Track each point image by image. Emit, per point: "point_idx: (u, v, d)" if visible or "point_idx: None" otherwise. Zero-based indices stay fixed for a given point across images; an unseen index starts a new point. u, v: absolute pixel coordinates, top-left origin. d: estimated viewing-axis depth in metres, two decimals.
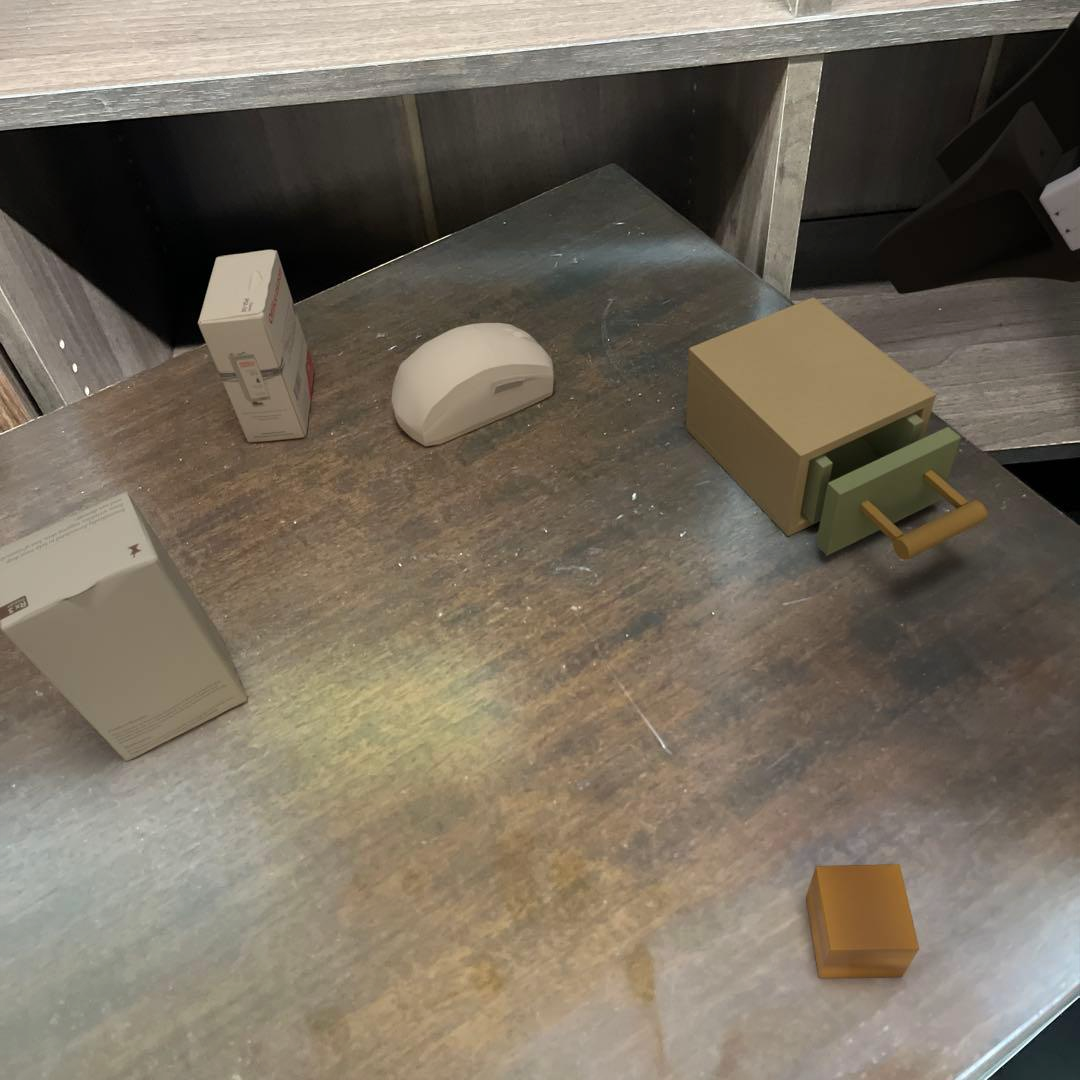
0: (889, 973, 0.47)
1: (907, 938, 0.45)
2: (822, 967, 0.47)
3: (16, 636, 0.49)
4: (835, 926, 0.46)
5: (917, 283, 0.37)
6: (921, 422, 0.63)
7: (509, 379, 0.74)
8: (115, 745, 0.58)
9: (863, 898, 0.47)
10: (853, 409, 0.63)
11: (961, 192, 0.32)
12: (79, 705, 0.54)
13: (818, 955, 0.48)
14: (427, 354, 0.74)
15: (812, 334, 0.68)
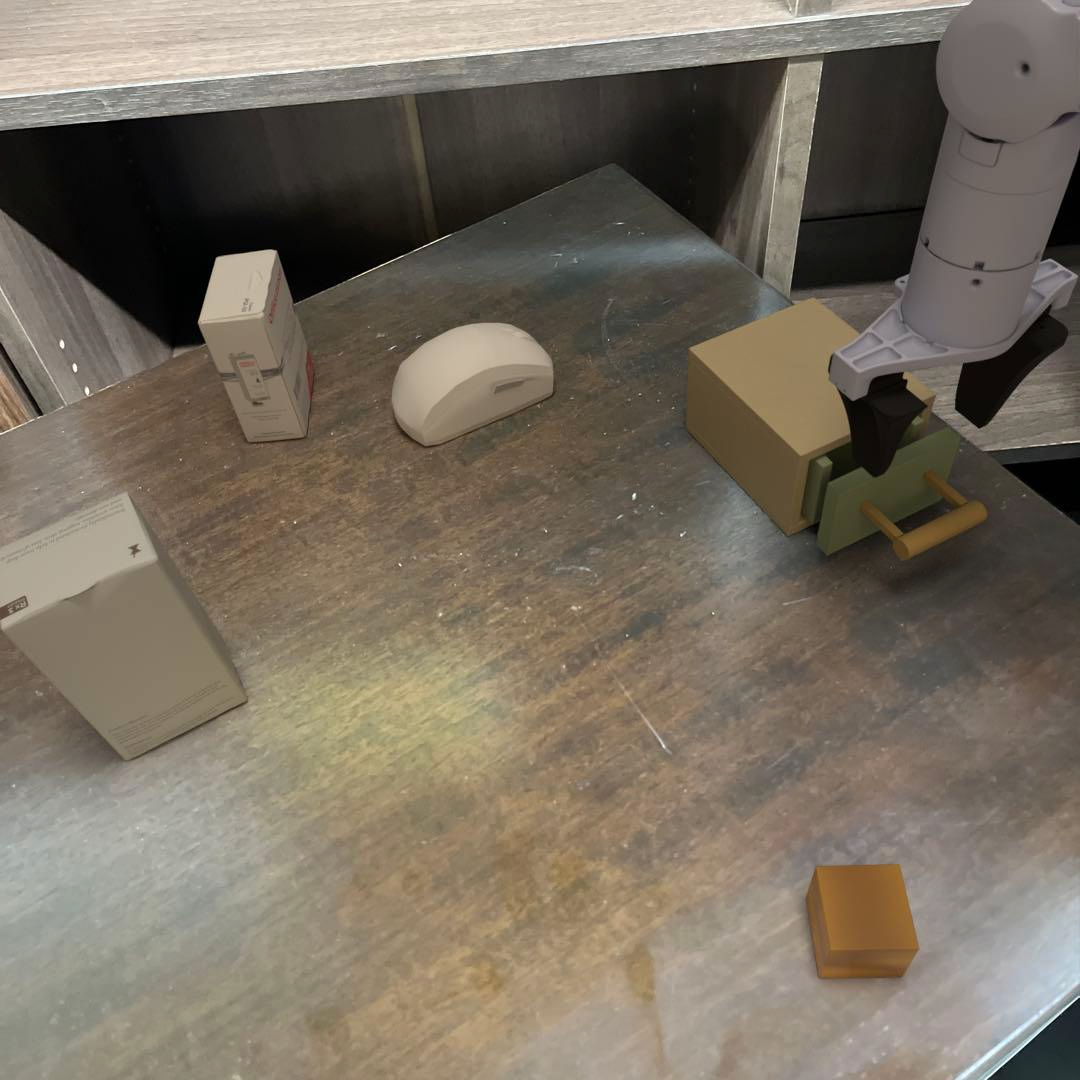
0: (889, 973, 0.47)
1: (907, 938, 0.45)
2: (822, 967, 0.47)
3: (16, 636, 0.49)
4: (835, 926, 0.46)
5: (874, 466, 0.56)
6: (921, 422, 0.63)
7: (509, 379, 0.74)
8: (115, 745, 0.58)
9: (863, 898, 0.47)
10: None
11: (842, 398, 0.54)
12: (79, 705, 0.54)
13: (818, 955, 0.48)
14: (427, 354, 0.74)
15: (812, 334, 0.68)
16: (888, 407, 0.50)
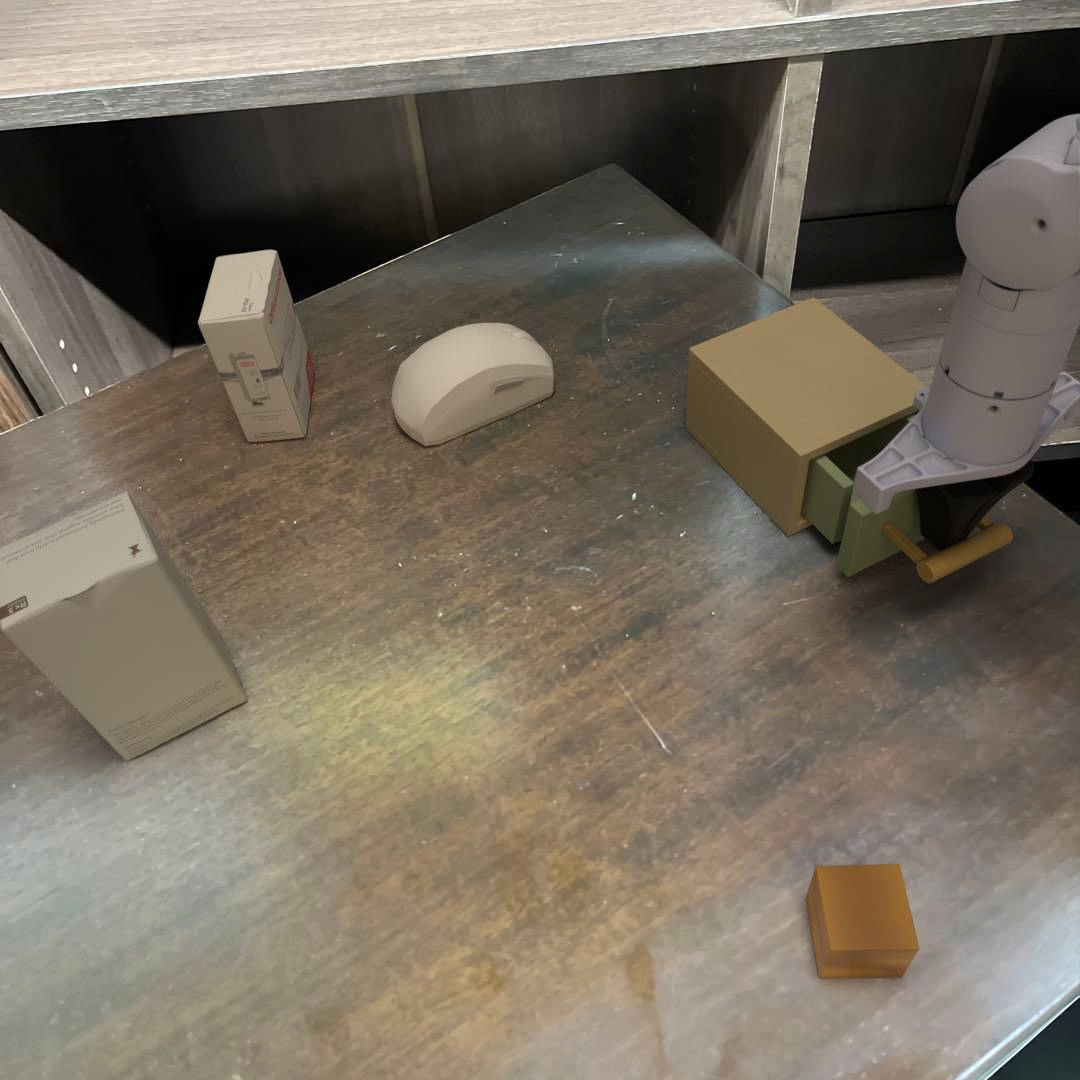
0: (889, 973, 0.47)
1: (907, 938, 0.45)
2: (822, 967, 0.47)
3: (16, 636, 0.49)
4: (835, 926, 0.46)
5: (942, 543, 0.59)
6: None
7: (509, 379, 0.74)
8: (115, 745, 0.58)
9: (863, 898, 0.47)
10: (853, 409, 0.63)
11: None
12: (79, 705, 0.54)
13: (818, 955, 0.48)
14: (427, 354, 0.74)
15: (812, 334, 0.68)
16: (961, 494, 0.53)
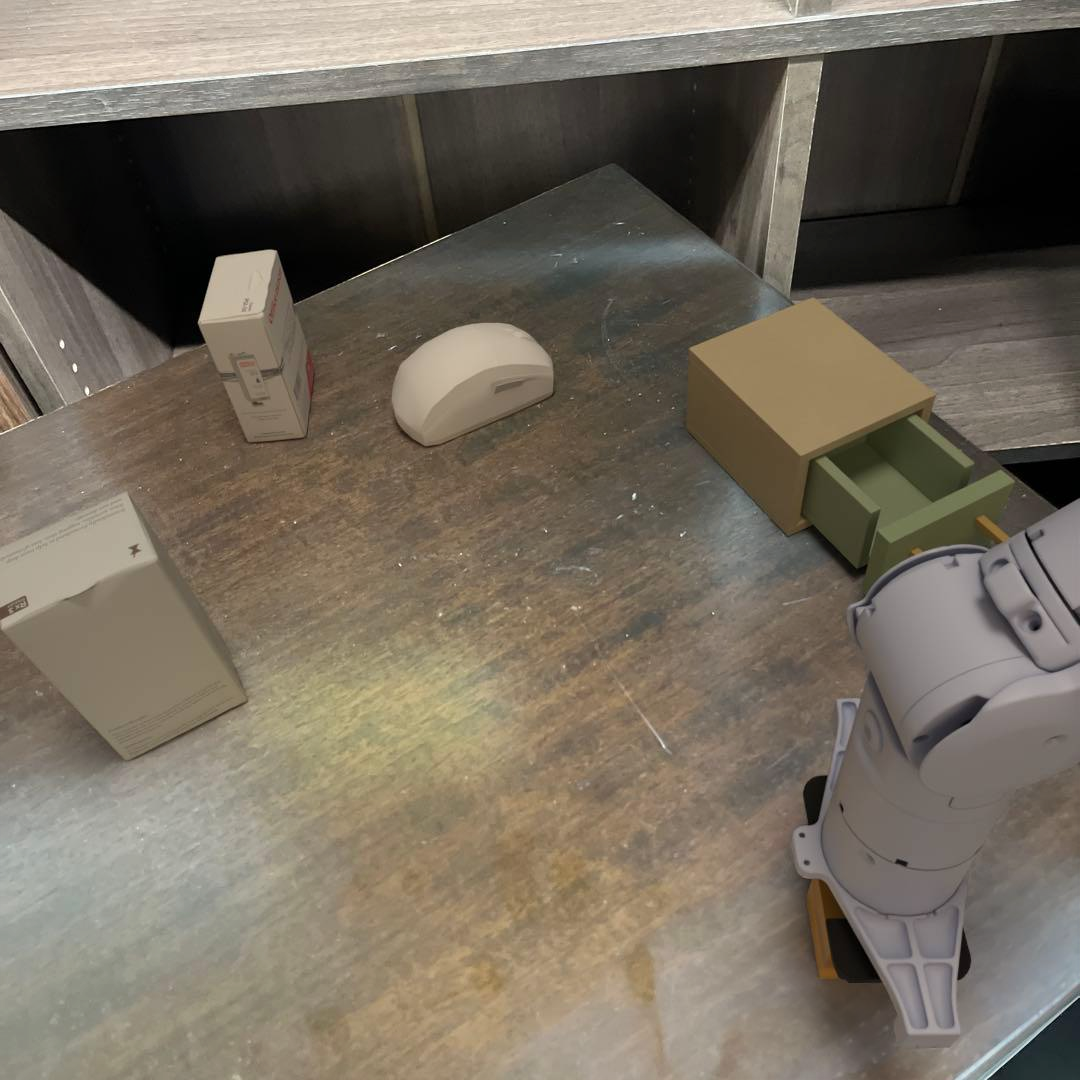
0: None
1: None
2: (822, 968, 0.47)
3: (16, 636, 0.49)
4: None
5: None
6: (972, 464, 0.61)
7: (509, 379, 0.74)
8: (115, 745, 0.58)
9: None
10: (853, 409, 0.63)
11: None
12: (79, 705, 0.54)
13: (818, 956, 0.48)
14: (427, 354, 0.74)
15: (812, 334, 0.68)
16: None
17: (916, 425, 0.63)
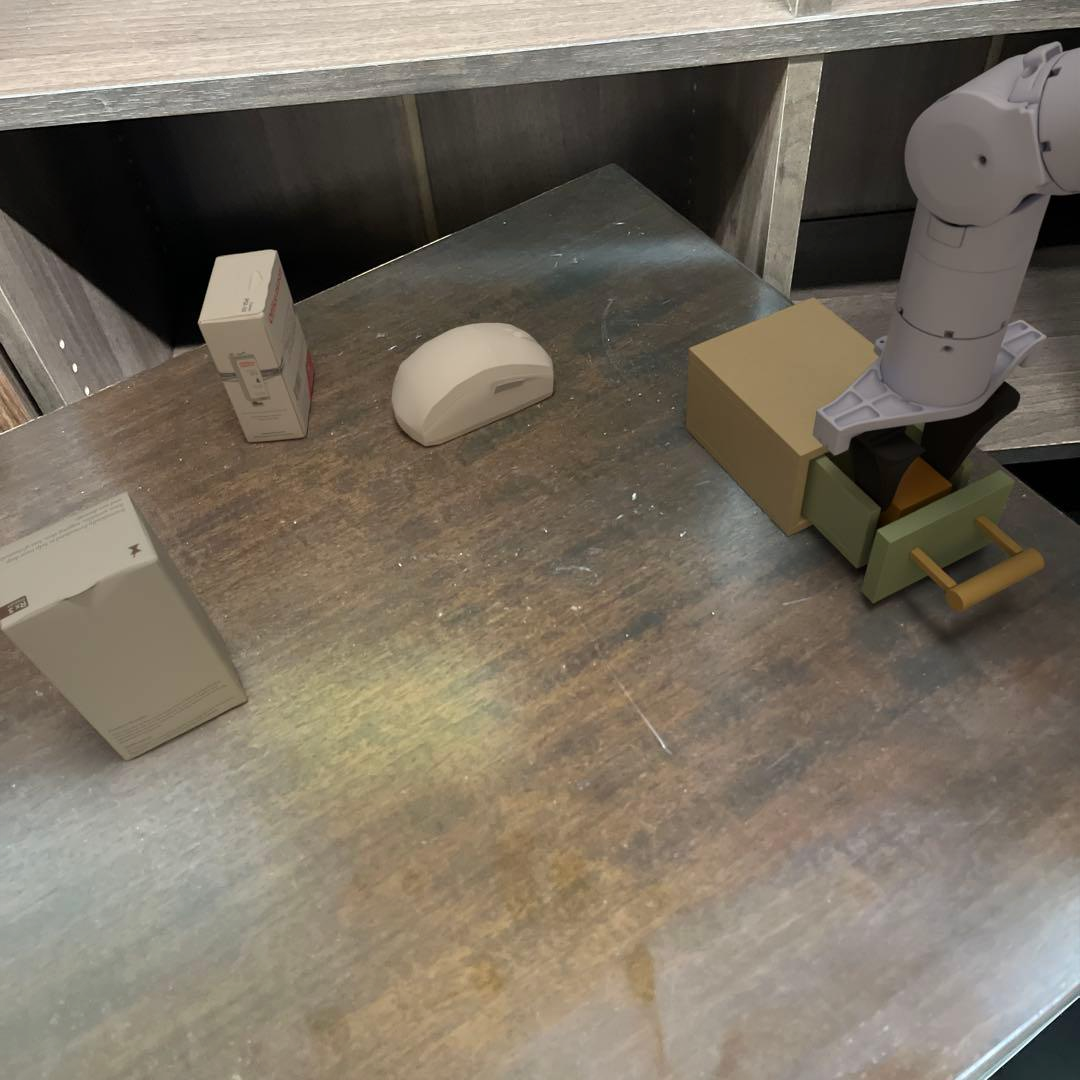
0: None
1: (902, 502, 0.60)
2: None
3: (16, 636, 0.49)
4: None
5: (876, 503, 0.60)
6: (972, 464, 0.61)
7: (509, 379, 0.74)
8: (115, 745, 0.58)
9: (908, 474, 0.61)
10: None
11: None
12: (79, 705, 0.54)
13: None
14: (427, 354, 0.74)
15: (812, 334, 0.68)
16: (888, 451, 0.54)
17: (916, 425, 0.63)
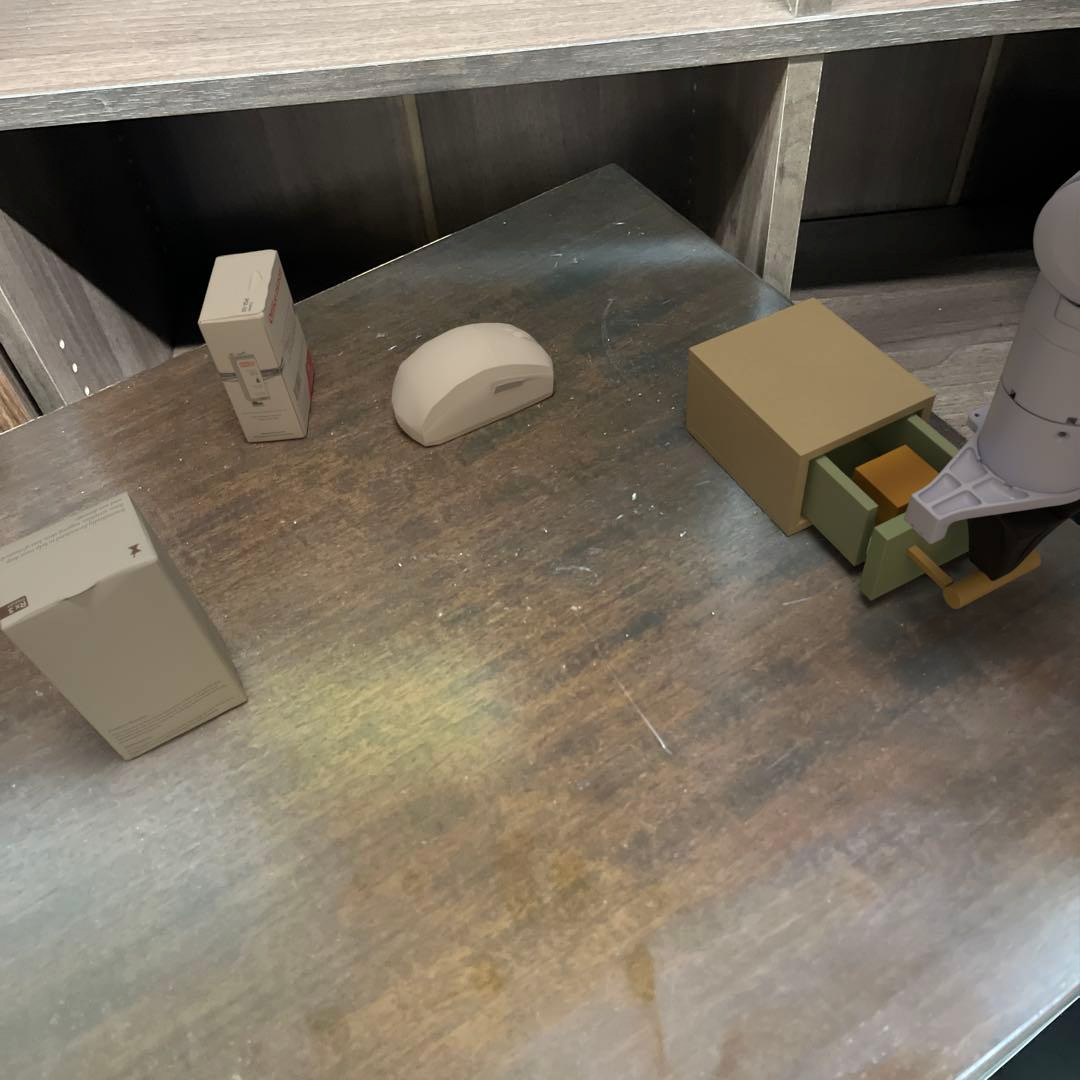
0: None
1: (899, 500, 0.60)
2: None
3: (16, 636, 0.49)
4: (873, 465, 0.62)
5: (994, 570, 0.56)
6: None
7: (509, 379, 0.74)
8: (115, 745, 0.58)
9: (906, 472, 0.61)
10: (853, 409, 0.63)
11: None
12: (79, 705, 0.54)
13: None
14: (427, 354, 0.74)
15: (812, 334, 0.68)
16: (1020, 522, 0.50)
17: (913, 423, 0.63)
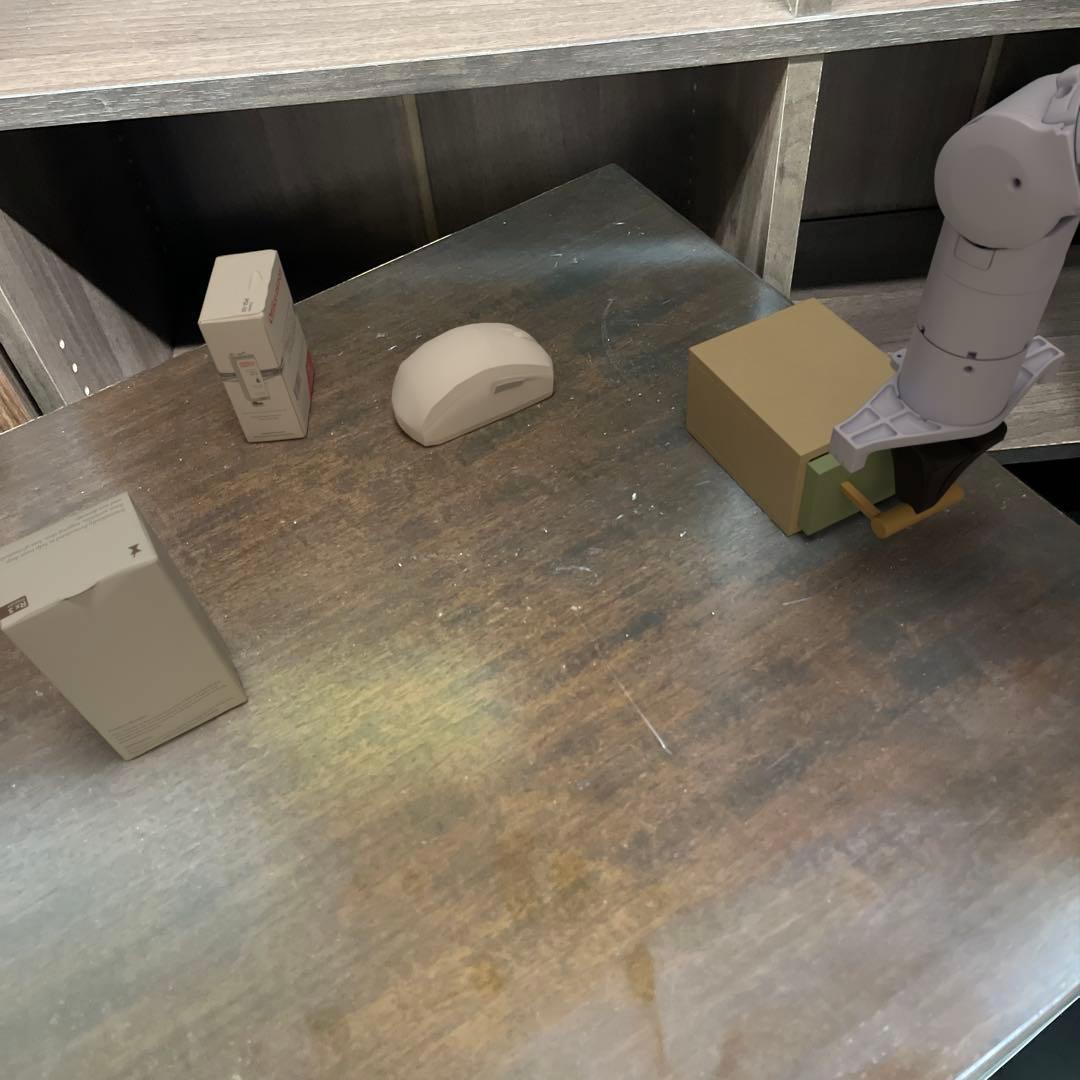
0: None
1: None
2: None
3: (16, 636, 0.49)
4: None
5: (916, 504, 0.60)
6: None
7: (509, 379, 0.74)
8: (115, 745, 0.58)
9: None
10: (853, 409, 0.63)
11: None
12: (79, 705, 0.54)
13: None
14: (427, 354, 0.74)
15: (812, 334, 0.68)
16: (935, 454, 0.54)
17: None
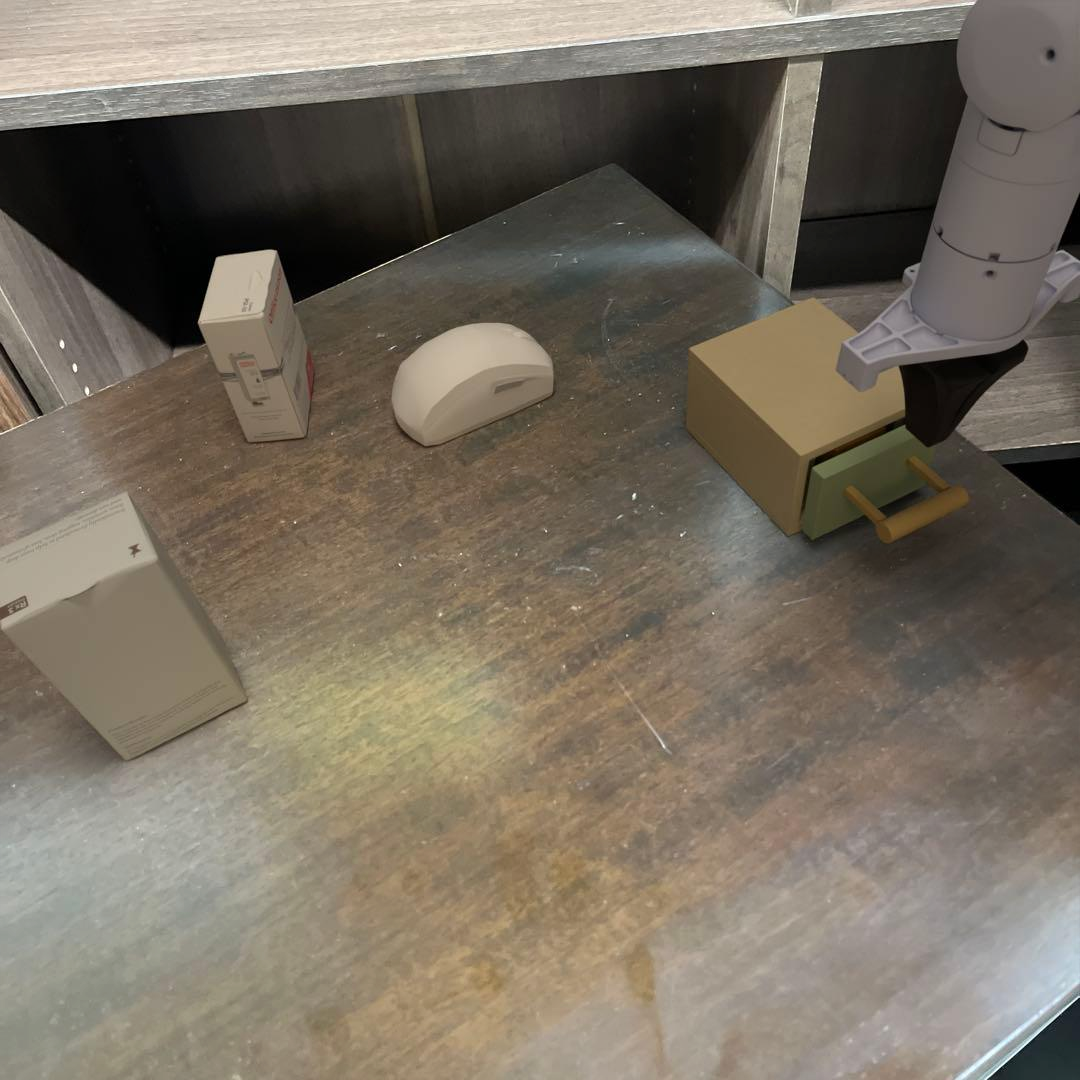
0: None
1: None
2: None
3: (16, 636, 0.49)
4: None
5: (928, 435, 0.56)
6: None
7: (509, 379, 0.74)
8: (115, 745, 0.58)
9: None
10: (853, 409, 0.63)
11: (899, 367, 0.54)
12: (79, 705, 0.54)
13: None
14: (427, 354, 0.74)
15: (812, 334, 0.68)
16: (950, 375, 0.50)
17: None
